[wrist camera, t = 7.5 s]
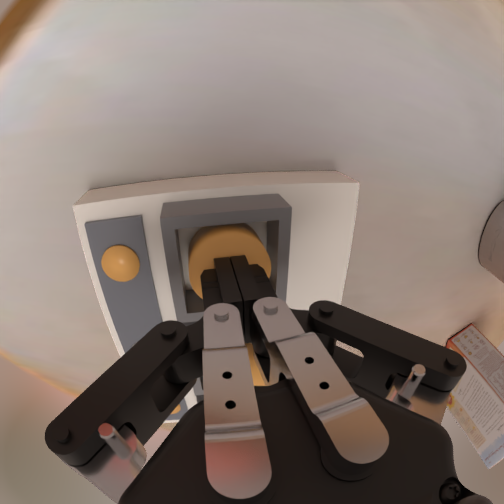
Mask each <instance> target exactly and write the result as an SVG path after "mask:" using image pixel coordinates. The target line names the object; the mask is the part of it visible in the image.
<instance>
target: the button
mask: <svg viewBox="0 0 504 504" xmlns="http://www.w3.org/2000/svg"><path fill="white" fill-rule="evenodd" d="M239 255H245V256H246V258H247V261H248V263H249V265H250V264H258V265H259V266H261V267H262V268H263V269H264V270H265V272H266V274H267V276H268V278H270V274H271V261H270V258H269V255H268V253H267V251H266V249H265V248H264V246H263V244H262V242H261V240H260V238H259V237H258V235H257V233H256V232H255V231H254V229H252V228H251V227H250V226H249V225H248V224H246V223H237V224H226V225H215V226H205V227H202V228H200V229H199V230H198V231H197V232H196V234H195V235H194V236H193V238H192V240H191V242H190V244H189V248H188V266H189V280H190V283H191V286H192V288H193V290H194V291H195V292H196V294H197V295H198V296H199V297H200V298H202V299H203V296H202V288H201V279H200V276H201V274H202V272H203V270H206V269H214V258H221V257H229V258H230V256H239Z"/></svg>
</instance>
